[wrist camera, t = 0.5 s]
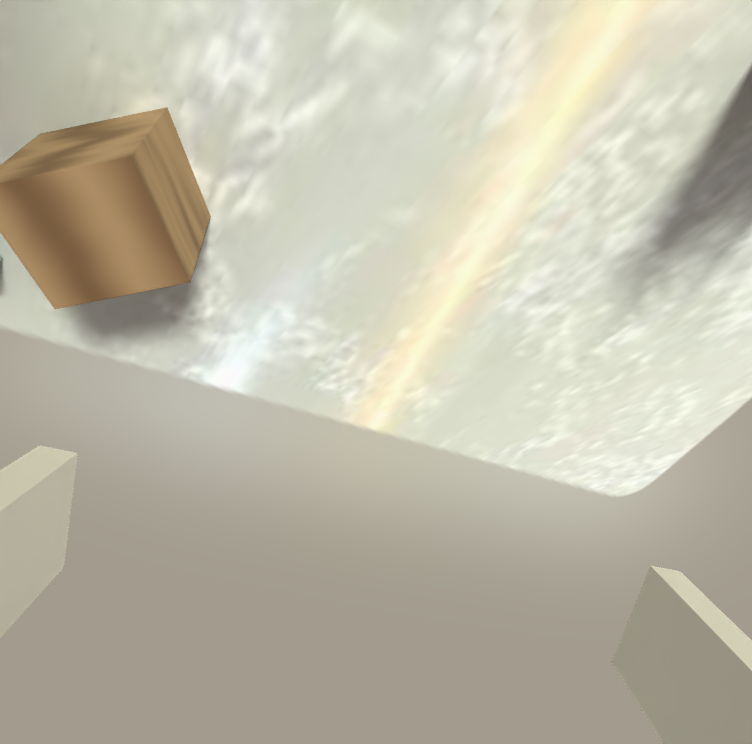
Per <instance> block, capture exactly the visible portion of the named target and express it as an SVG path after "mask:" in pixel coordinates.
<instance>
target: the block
mask: <svg viewBox="0 0 752 744" xmlns="http://www.w3.org/2000/svg"><path fill="white" fill-rule="evenodd" d="M210 217H211V216H210V214H209V211H208V209H207V206H206V204H205V201H204V199H203V196H202V194H201V191H200V189H199V186H198V184H197V181H196V179H195V176H194V174H193V171H192V169H191V166H190V164H189V161H188V159H187V156H186V154H185V151H184V149H183V146H182V144H181V141H180V138H179V136H178V133H177V131H176V128H175V126H174V123H173V121H172V118H171V116H170V113H169V111H168V108H162V109H157V110H152V111H148V112H143V113H138V114H133V115H128V116H124V117H119V118H114V119H109V120H104V121H99V122H95V123H90V124H85V125H80V126H75V127H71V128H66V129H61V130H56V131H51V132H46V133H42V134H39V135H38V136H37V137H36V138H34V139H33V140H32V141H31V142H29V143H28V144H27V145H26V146H24V147H23V148H22V149H21V150H19V151H18V152H17V153H15V154H14V155H13V156H12V157H10V158H9V159H8V160H7V161H5V162H4V163H3V164H2V165H0V232H1V234H2V235H3V237H4V238H5V239H6V241H7V242H8V244H9V245H10V246H11V248H12V249H13V251H14V252H15V254H16V255H17V256H18V258H19V259H20V261H21V262H22V263H23V265H24V266H25V268H26V269H27V270H28V272H29V273H30V275H31V276H32V278H33V279H34V280H35V282H36V283H37V285H38V286H39V287H40V289H41V290H42V292H43V293H44V295H45V296H46V297H47V299H48V300H49V302H50V303H51V304H52V306H53V307H54V309H59V308H64V307H69V306H74V305H79V304H84V303H89V302H94V301H99V300H104V299H109V298H114V297H118V296H123V295H128V294H133V293H138V292H143V291H148V290H153V289H158V288H163V287H168V286H173V285H178V284H183V283H188V282H190V281H191V278H192V275H193V271H194V268H195V265H196V262H197V258H198V255H199V252H200V249H201V246H202V242H203V239H204V236H205V233H206V229H207V226H208V223H209V220H210Z"/></svg>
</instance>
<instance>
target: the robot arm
mask: <svg viewBox="0 0 752 744" xmlns="http://www.w3.org/2000/svg"><path fill="white" fill-rule="evenodd" d="M77 455H78V453H75V452H70V451H65V450H59V449H55V448H49V447H44V446H38V447H37V448H35V449H33V450H32V451H30V452H29V453H27V454H26V455H24V456H22V457H21V458H19V459H18V460H16V461H14V462H13V463H11V464H10V465H8V466H7V467H5V468H3V469H2V470H0V638H1V637H2V635H3V634H4V633H5V632H6V631H7V630H8V629H9V628H10V626H11V625H12V624H13V623H14V622H15V621H16V620H17V619H18V617H19V616H20V615H21V614H22V613H23V612H24V611H25V610H26V609H27V608H28V606H29V605H30V604H31V603H32V602H33V601H34V600H35V599H36V597H37V596H38V595H39V594H40V593H41V592H42V591H43V589H44V588H45V587H46V586H47V585H48V584H49V583H50V582H51V581H52V580H53V578H54V577H55V576H56V575H57V574H58V573H59V572H60V571H61V569H62V568H63V567H64V559H65V551H66V543H67V535H68V527H69V519H70V511H71V502H72V494H73V487H74V478H75V471H76V463H77ZM612 663H613V665H614V667H615V668H616V670H617V672H618V673H619V675H620V676H621V678H622V679H623V681H624V683H625V684H626V686H627V687H628V689H629V690H630V692H631V693H632V695H633V697H634V698H635V700H636V701H637V703H638V704H639V706H640V708H641V709H642V711H643V712H644V714H645V715H646V717H647V718H648V720H649V721H650V723H651V725H652V726H653V728H654V729H655V731H656V732H657V734H658V736H659V737H660V739H661V740H662V742H663V743H664V744H752V641H751V640H750V639H749V638H748V637H747V636H746V635H745V634H744V633H743V632H742V631H741V630H740V629H739V628H738V627H737V626H736V625H735V624H734V623H733V622H732V621H731V620H730V619H728V617H727V616H726V615H724V614H723V613H722V612H721V611H720V610H719V609H718V608H717V607H716V606H715V605H714V604H713V603H712V602H711V601H710V600H709V599H708V598H707V597H706V596H705V595H704V594H703V593H702V592H701V591H700V590H699V589H698V588H697V587H695V586H694V585H693V584H692V583H691V582H690V581H689V580H688V579H687V578H686V577H685V576H684V575H683V574H682V573H681V572H680V571H675V570H670V569H665V568H660V567H654V566H650V568H649V571H648V574H647V576H646V578H645V581H644V583H643V586H642V588H641V591H640V593H639V595H638V598H637V600H636V603H635V605H634V608H633V610H632V613H631V615H630V618H629V620H628V622H627V625H626V628H625V630H624V632H623V635H622V637H621V640H620V642H619V645H618V647H617V650H616V652H615V654H614V657H613V659H612Z"/></svg>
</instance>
